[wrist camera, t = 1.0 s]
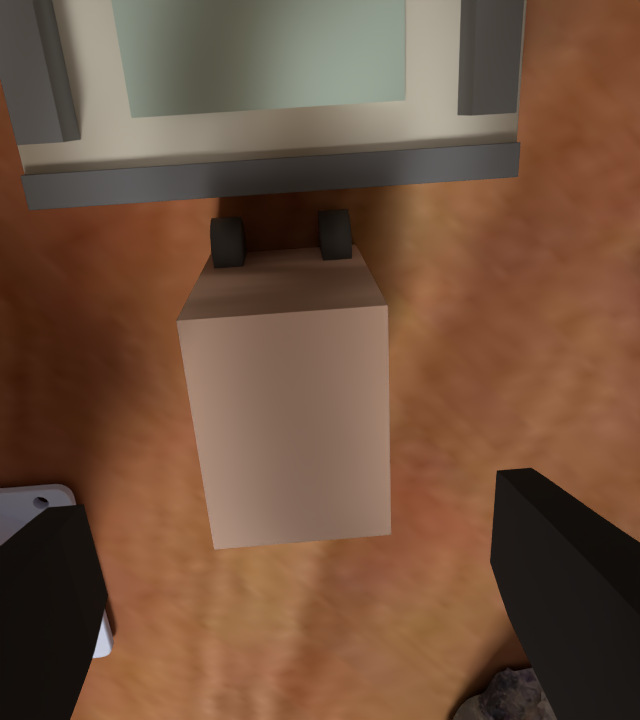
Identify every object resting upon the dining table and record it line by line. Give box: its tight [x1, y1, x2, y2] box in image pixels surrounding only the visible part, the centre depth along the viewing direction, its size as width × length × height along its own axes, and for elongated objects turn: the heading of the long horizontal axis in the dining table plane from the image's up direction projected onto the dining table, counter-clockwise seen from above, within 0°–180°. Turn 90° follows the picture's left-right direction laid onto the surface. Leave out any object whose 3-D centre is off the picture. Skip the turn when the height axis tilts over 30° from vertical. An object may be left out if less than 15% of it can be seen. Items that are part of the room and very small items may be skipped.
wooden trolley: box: [176, 209, 391, 549], centre depth 16 cm, size 4×8×6 cm, turn 3°
